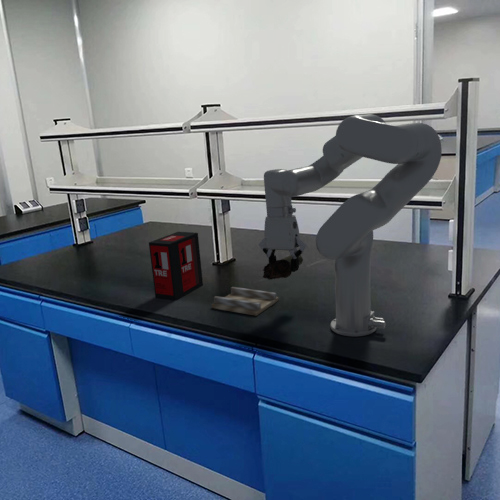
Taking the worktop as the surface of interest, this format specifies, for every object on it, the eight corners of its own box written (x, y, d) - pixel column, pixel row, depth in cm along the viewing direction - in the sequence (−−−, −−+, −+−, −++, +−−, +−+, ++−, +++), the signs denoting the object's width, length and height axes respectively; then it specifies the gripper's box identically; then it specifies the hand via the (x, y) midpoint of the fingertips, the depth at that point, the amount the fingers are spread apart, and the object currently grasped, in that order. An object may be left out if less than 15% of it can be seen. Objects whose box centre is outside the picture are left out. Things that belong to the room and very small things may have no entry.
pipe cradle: (278, 300, 166) (278, 291, 165) (256, 315, 155) (255, 305, 154) (235, 294, 175) (235, 285, 174) (211, 308, 164) (211, 298, 163)
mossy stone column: (290, 265, 163) (288, 248, 162) (308, 267, 159) (307, 250, 158) (260, 281, 149) (258, 263, 147) (280, 283, 145) (278, 264, 144)
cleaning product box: (183, 283, 191) (177, 231, 186) (203, 285, 187) (197, 232, 182) (155, 297, 178) (148, 242, 173) (175, 300, 173) (169, 244, 168)
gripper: (311, 209, 148) (315, 268, 152) (260, 209, 157) (266, 264, 161) (300, 214, 142) (304, 275, 146) (247, 214, 151) (253, 271, 155)
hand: (284, 269), depth 153 cm, fingers closed on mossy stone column, 6 cm apart
